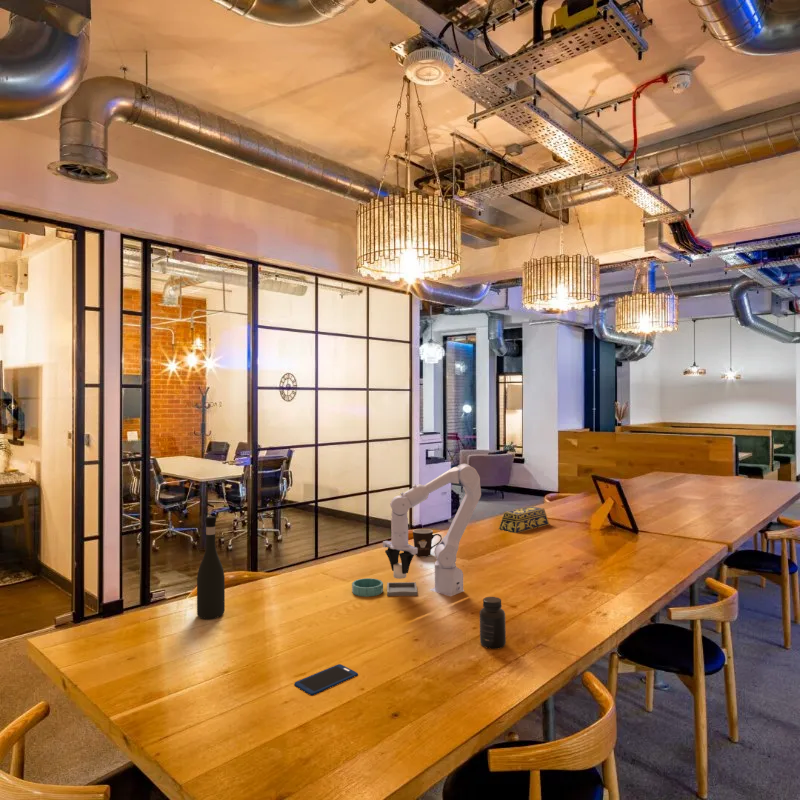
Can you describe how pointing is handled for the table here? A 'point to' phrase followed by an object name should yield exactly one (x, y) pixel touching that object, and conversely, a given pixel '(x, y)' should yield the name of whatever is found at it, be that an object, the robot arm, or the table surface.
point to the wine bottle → (210, 578)
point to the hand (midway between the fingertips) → (400, 571)
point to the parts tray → (402, 589)
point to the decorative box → (523, 519)
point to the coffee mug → (424, 541)
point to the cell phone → (325, 679)
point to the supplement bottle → (492, 624)
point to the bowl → (367, 587)
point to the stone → (398, 571)
